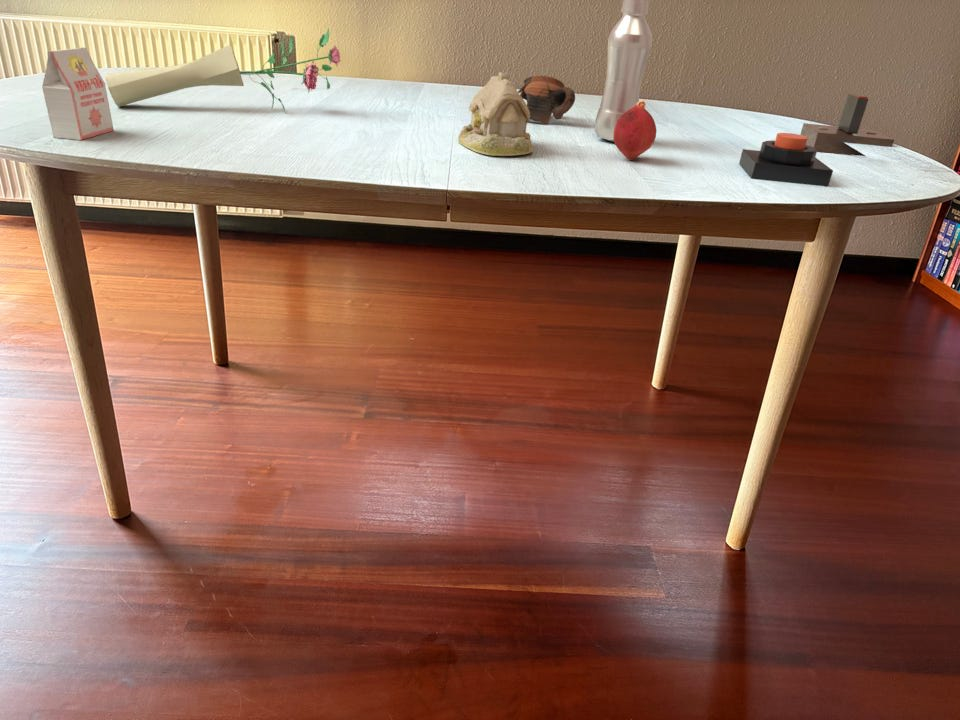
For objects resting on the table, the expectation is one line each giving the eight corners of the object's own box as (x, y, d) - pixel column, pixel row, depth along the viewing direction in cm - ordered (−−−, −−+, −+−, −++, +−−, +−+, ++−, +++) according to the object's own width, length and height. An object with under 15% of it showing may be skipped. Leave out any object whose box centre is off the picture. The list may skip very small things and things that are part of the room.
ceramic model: (450, 135, 104) (453, 64, 99) (520, 137, 106) (526, 67, 102) (472, 157, 92) (477, 77, 87) (551, 158, 95) (560, 81, 90)
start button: (800, 147, 95) (803, 134, 94) (807, 153, 92) (811, 139, 91) (770, 144, 95) (774, 131, 95) (777, 150, 92) (780, 137, 91)
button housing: (809, 171, 99) (818, 143, 97) (828, 187, 91) (837, 156, 89) (738, 164, 100) (745, 136, 98) (751, 179, 92) (759, 148, 90)
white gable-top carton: (53, 137, 86) (33, 50, 81) (87, 127, 92) (71, 46, 87) (80, 140, 85) (62, 52, 80) (113, 130, 91) (98, 48, 86)
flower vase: (141, 151, 112) (348, 105, 119) (122, 144, 101) (353, 94, 107) (115, 76, 109) (329, 33, 116) (92, 60, 98) (332, 13, 104)
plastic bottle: (599, 134, 113) (619, -2, 103) (639, 141, 110) (664, 1, 100) (587, 140, 107) (607, -3, 98) (629, 147, 105) (653, 1, 95)
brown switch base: (868, 147, 120) (874, 128, 118) (888, 158, 112) (895, 138, 110) (798, 140, 121) (803, 122, 119) (812, 151, 113) (818, 131, 111)
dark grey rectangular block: (837, 127, 117) (848, 92, 114) (847, 128, 117) (858, 93, 114) (847, 133, 113) (859, 96, 110) (857, 133, 113) (869, 97, 110)
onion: (628, 166, 94) (639, 104, 90) (601, 156, 98) (610, 97, 94) (659, 163, 97) (670, 103, 93) (631, 154, 101) (640, 96, 97)
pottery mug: (501, 121, 120) (509, 75, 120) (531, 141, 128) (539, 98, 128) (558, 113, 113) (566, 64, 113) (587, 135, 120) (595, 89, 120)
